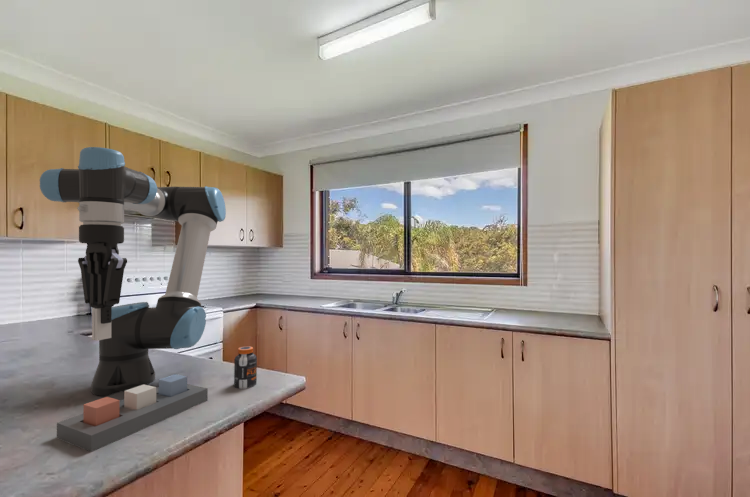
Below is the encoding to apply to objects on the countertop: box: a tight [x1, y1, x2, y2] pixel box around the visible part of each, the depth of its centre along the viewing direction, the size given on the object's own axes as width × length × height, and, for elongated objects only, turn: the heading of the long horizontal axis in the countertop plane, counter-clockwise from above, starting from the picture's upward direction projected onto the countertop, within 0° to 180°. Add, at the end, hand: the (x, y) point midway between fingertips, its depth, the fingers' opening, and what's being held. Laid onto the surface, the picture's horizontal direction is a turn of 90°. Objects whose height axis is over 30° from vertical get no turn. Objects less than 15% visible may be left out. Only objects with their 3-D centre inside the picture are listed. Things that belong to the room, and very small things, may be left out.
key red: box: [82, 396, 120, 427], centre depth 76 cm, size 4×4×4 cm
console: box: [56, 383, 209, 453], centre depth 83 cm, size 12×26×4 cm, turn 155°
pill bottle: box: [233, 345, 258, 390], centre depth 104 cm, size 6×6×11 cm
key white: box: [123, 384, 157, 411], centre depth 83 cm, size 4×4×4 cm
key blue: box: [158, 373, 188, 397], centre depth 91 cm, size 4×4×4 cm
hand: (101, 338), depth 76 cm, fingers closed
